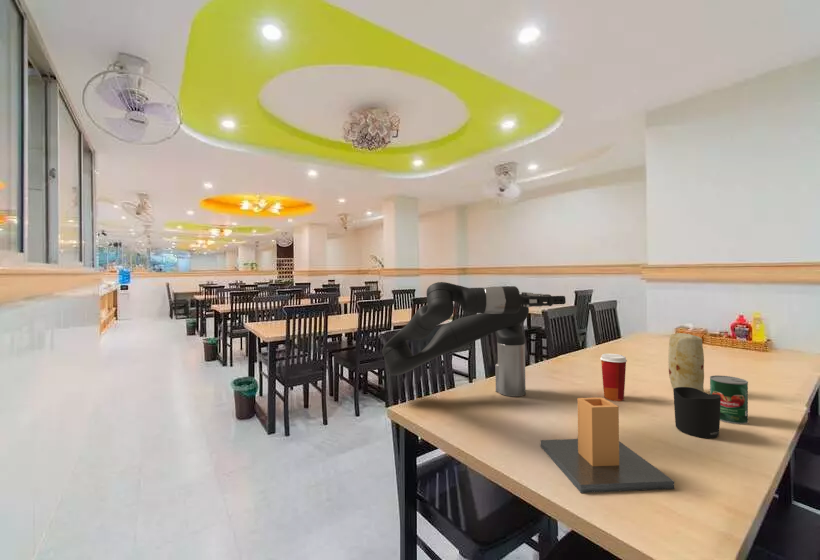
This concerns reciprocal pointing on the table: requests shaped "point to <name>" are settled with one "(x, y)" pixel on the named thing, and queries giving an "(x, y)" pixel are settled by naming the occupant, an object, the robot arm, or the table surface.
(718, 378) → the canned tomato
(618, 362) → the paper cup
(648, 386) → the table surface
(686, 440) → the table surface
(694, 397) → the pen holder
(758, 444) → the table surface
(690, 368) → the food model
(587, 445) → the tan rectangular holder
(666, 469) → the table surface
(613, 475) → the shaft stand
